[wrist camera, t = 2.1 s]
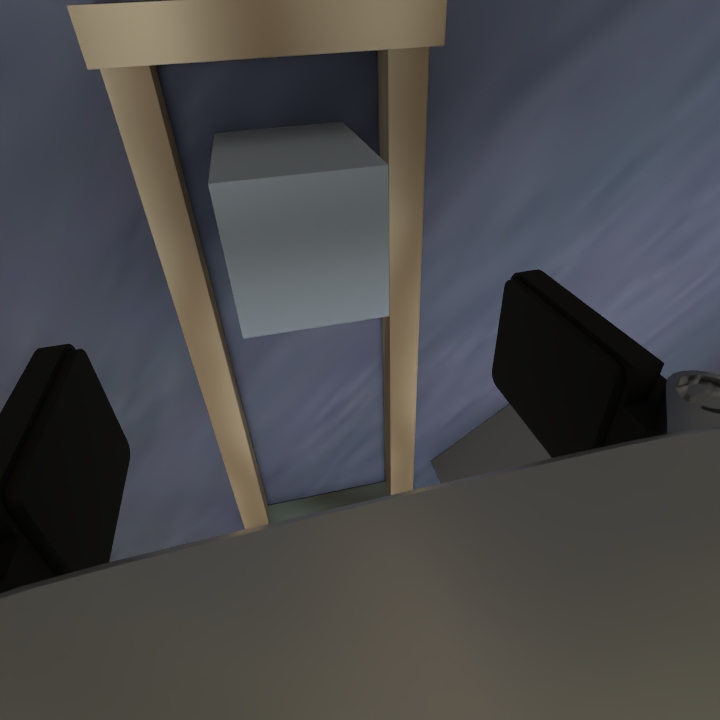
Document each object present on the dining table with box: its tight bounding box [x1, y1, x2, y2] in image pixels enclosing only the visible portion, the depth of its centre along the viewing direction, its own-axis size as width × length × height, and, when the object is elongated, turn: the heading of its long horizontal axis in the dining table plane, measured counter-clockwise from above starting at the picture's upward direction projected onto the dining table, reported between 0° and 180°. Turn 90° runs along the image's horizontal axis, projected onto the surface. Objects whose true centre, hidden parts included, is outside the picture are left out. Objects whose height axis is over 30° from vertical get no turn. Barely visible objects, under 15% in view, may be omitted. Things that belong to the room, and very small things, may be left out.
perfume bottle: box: [431, 404, 551, 483], centre depth 26 cm, size 7×7×18 cm
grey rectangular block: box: [208, 121, 389, 339], centre depth 17 cm, size 5×5×7 cm
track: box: [67, 0, 447, 529], centre depth 23 cm, size 11×28×5 cm, turn 2°
